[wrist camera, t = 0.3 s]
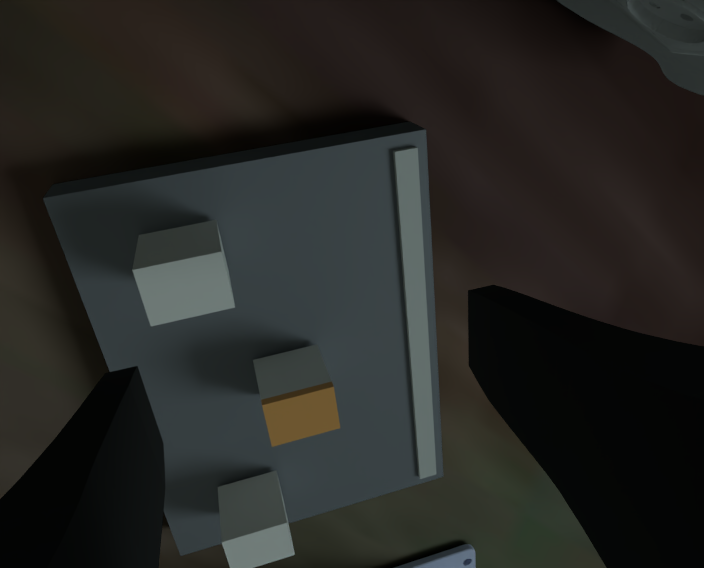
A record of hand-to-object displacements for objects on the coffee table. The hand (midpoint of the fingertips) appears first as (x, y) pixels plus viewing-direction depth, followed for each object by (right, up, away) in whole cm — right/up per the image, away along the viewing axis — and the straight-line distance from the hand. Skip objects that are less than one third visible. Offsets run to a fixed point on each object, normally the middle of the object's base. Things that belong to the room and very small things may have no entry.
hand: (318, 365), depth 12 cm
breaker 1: (-5, +3, +6) cm, 8 cm away
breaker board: (-2, -1, +11) cm, 11 cm away
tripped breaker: (-2, -1, +9) cm, 9 cm away
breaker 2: (-3, -7, +11) cm, 14 cm away
